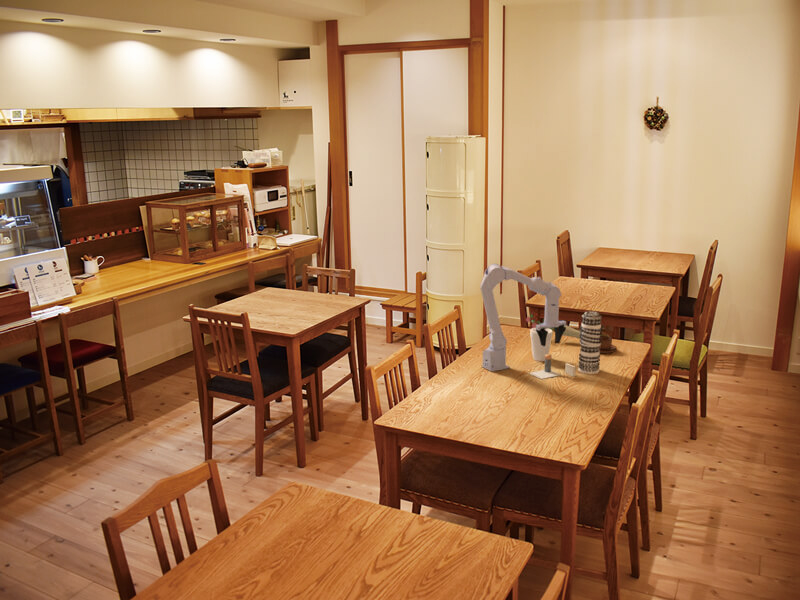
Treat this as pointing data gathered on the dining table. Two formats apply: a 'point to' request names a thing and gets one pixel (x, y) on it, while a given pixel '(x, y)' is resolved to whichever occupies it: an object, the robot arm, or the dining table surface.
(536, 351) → the foam cup
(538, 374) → the paper
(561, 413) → the dining table surface
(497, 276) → the robot arm
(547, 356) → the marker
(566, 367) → the rectangular block
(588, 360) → the decorative candle
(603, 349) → the cup and saucer
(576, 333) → the flower vase
